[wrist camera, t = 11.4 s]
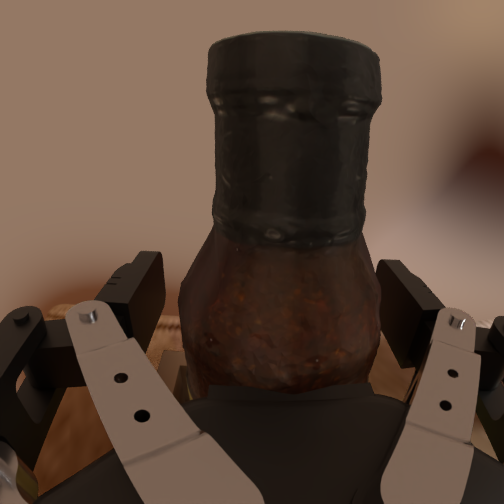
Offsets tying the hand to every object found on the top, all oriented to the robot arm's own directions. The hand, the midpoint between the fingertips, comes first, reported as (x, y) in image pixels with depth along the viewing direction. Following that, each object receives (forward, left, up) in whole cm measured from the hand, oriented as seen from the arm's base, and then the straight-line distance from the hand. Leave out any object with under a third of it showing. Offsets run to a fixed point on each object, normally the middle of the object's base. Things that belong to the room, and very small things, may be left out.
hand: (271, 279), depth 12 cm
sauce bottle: (0, +2, -13) cm, 13 cm away
